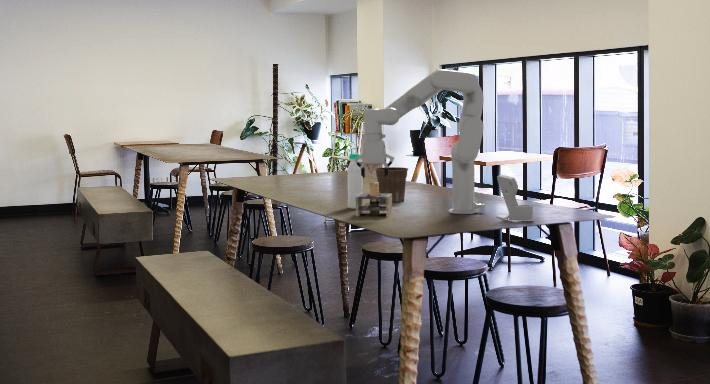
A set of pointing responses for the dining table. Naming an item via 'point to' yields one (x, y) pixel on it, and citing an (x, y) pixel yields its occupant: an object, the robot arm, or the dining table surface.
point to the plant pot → (392, 183)
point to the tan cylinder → (374, 192)
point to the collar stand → (361, 207)
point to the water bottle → (354, 181)
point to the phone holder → (513, 200)
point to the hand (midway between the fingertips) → (374, 177)
